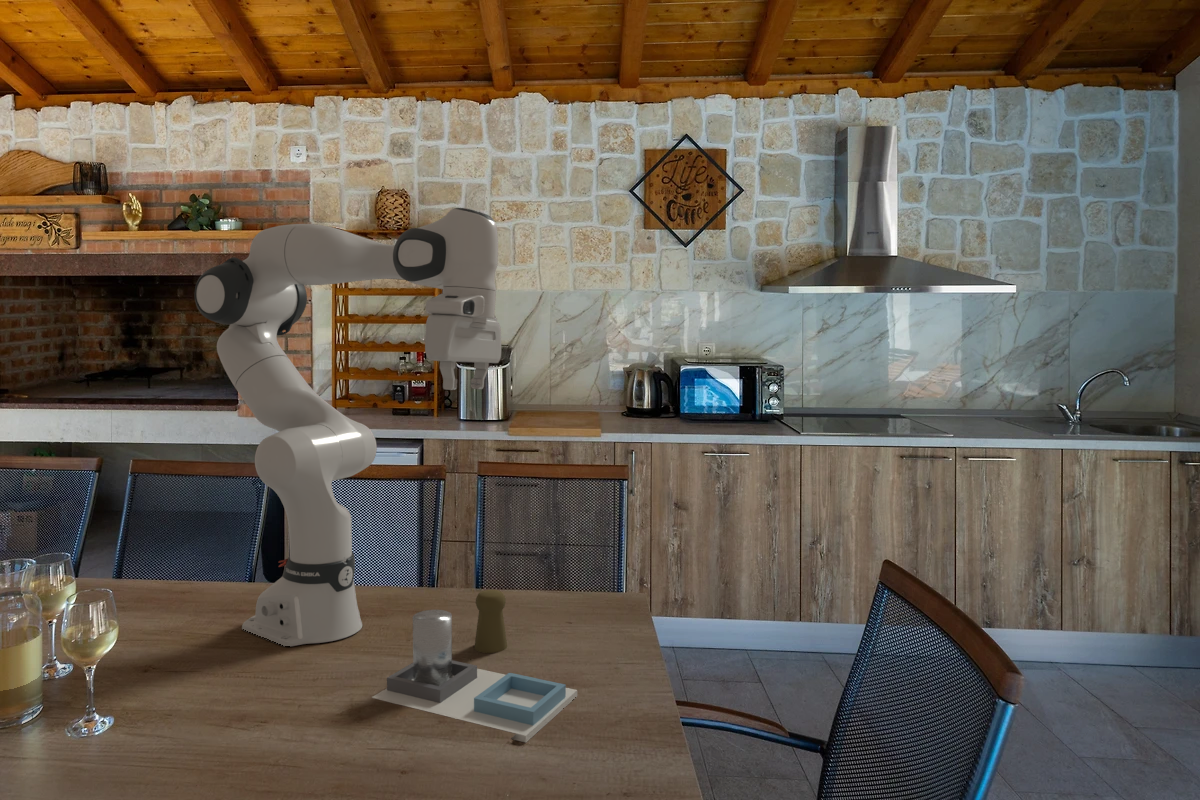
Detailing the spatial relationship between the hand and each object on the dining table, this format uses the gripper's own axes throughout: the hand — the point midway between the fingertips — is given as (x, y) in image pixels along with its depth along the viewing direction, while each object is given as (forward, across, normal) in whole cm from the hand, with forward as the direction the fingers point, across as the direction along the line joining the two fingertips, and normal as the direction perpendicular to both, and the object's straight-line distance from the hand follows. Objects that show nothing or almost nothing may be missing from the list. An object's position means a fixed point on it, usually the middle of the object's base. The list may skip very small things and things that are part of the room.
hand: (463, 389), depth 139 cm
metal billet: (+46, +10, +3) cm, 48 cm away
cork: (+46, -7, +5) cm, 47 cm away
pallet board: (+47, +11, +11) cm, 50 cm away
